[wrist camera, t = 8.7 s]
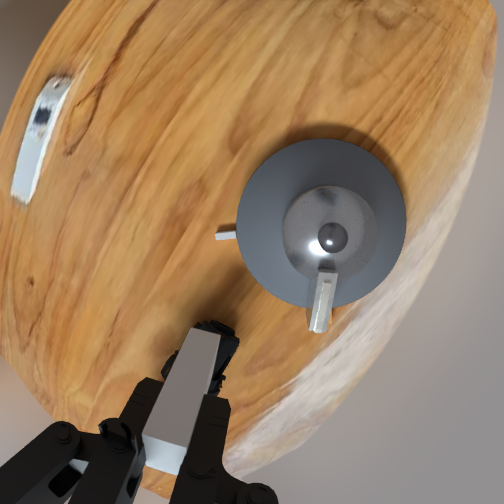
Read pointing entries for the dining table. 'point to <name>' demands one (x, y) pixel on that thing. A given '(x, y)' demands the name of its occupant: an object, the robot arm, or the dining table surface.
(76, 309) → the dining table surface
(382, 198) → the dial plate
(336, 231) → the dial
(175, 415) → the robot arm
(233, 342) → the tool
